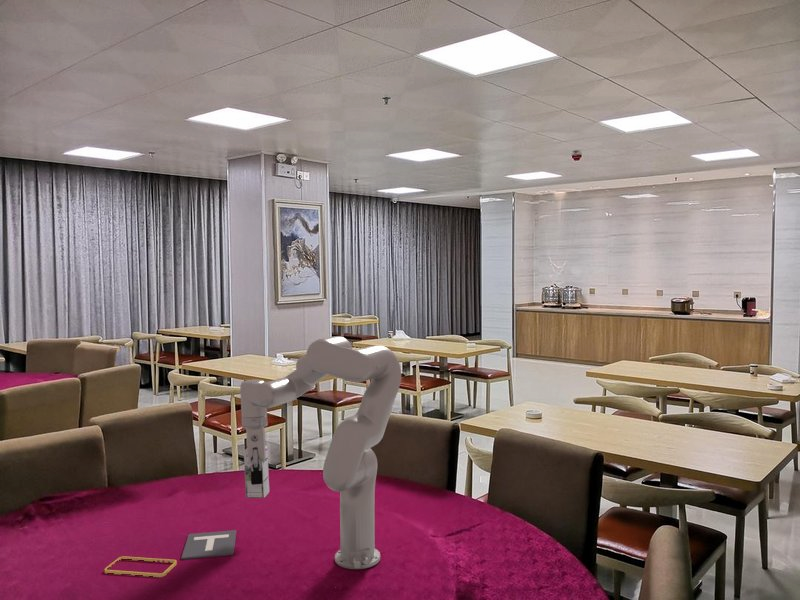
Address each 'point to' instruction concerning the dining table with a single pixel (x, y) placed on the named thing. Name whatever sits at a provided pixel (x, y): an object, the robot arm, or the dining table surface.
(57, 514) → the dining table surface
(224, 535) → the letter mat
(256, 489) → the syrup box
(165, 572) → the phone case
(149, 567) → the dining table surface
